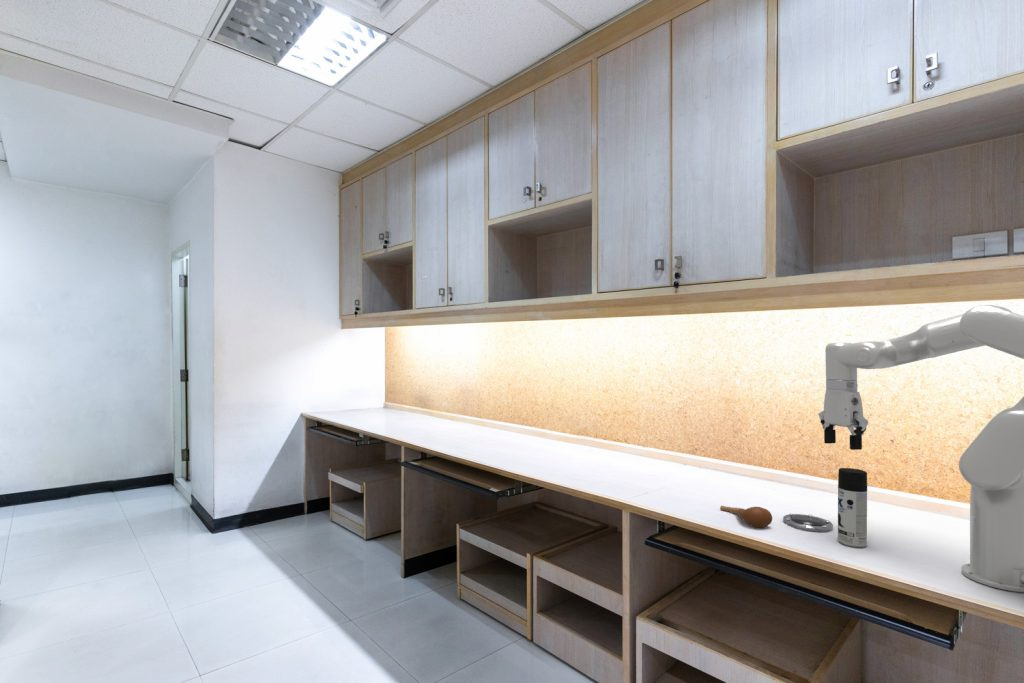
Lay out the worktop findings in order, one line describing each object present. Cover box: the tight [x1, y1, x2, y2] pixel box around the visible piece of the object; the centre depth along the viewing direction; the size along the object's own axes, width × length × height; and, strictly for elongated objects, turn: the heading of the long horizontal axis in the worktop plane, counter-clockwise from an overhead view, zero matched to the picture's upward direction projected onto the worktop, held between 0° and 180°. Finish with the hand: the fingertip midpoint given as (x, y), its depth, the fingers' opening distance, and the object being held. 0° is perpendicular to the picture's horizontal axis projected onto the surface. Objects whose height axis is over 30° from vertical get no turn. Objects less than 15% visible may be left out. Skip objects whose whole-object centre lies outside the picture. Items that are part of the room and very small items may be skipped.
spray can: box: [837, 467, 868, 549], centre depth 139 cm, size 7×7×20 cm
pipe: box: [720, 505, 773, 529], centre depth 157 cm, size 8×19×6 cm, turn 21°
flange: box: [782, 513, 834, 533], centre depth 153 cm, size 13×13×1 cm
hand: (842, 446), depth 144 cm, fingers open, 9 cm apart
